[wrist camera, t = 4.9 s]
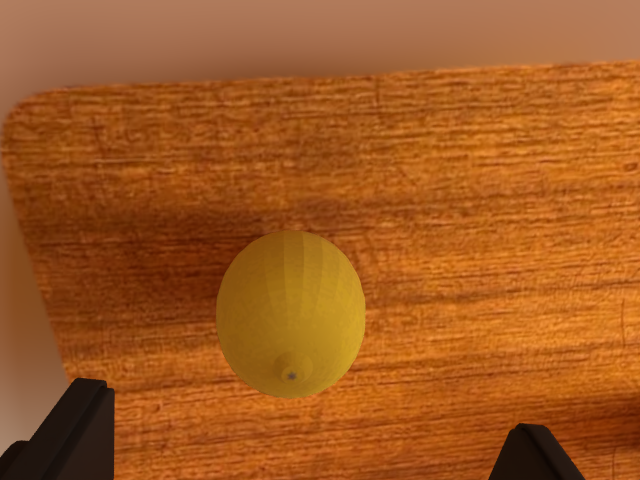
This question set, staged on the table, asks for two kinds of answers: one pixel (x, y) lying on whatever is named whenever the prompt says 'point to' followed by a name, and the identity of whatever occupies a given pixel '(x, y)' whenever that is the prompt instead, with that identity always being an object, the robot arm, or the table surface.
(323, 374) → the lemon
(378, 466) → the table surface
